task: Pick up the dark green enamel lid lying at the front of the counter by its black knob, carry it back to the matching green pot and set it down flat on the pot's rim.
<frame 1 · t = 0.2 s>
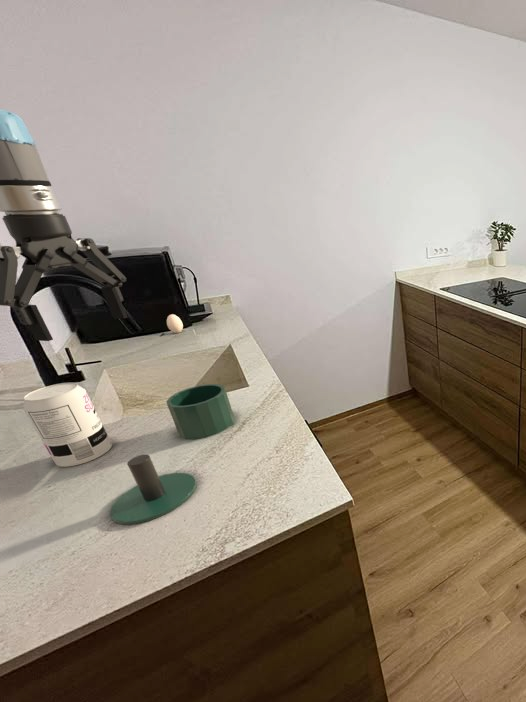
hand: (85, 328, 74), 24 cm above the counter, tool pointing down, fingers open, 13 cm apart
egg: (178, 333, 146), on the counter
lid: (156, 497, 64), point 1 cm above the counter
supplement can: (86, 457, 76), on the counter
pot: (208, 427, 85), on the counter
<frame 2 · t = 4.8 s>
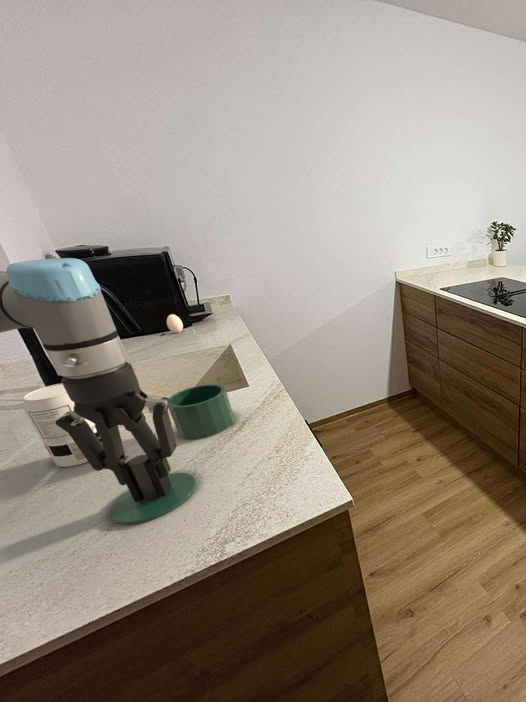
hand: (153, 493, 64), 2 cm above the counter, tool pointing down, fingers closed on lid, 3 cm apart
lid: (156, 497, 64), point 1 cm above the counter, touching gripper
everything else where it was.
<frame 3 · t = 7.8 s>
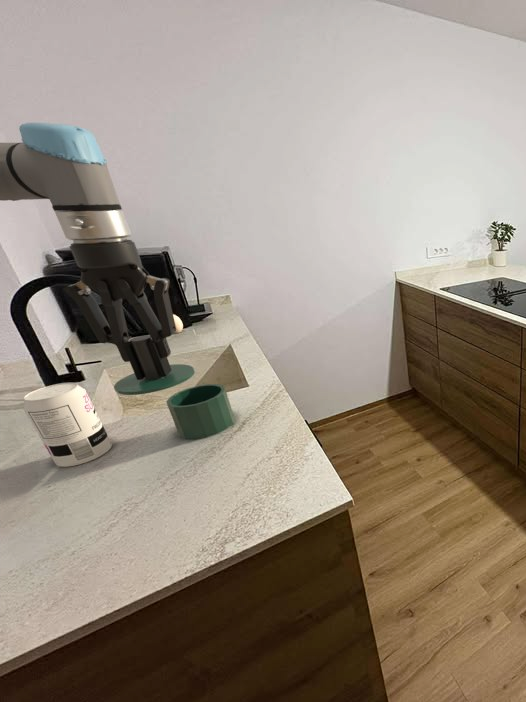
hand: (154, 374, 68), 18 cm above the counter, tool pointing down, fingers closed on lid, 3 cm apart
lid: (156, 379, 68), point 17 cm above the counter, touching gripper
everything else where it was.
when the fingers open (10 cm above the counter, at t = 11.0 s): lid stays where it is, resting on pot.
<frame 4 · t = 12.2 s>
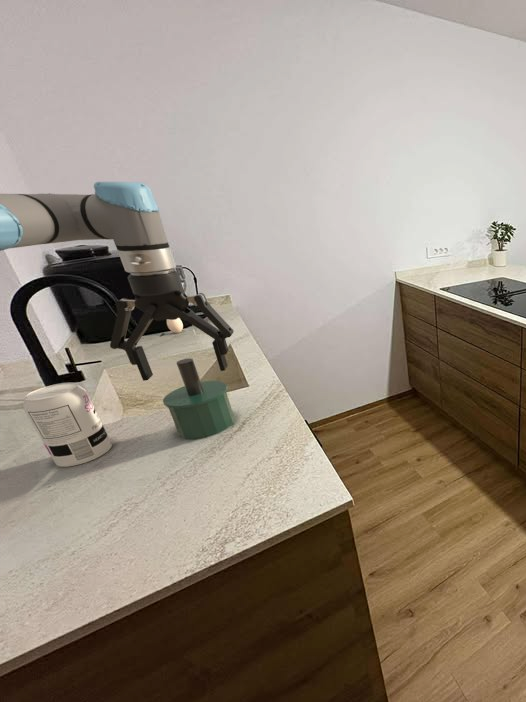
hand: (187, 373, 79), 14 cm above the counter, tool pointing down, fingers open, 13 cm apart
lid: (196, 394, 81), point 8 cm above the counter, touching pot
everything else where it was.
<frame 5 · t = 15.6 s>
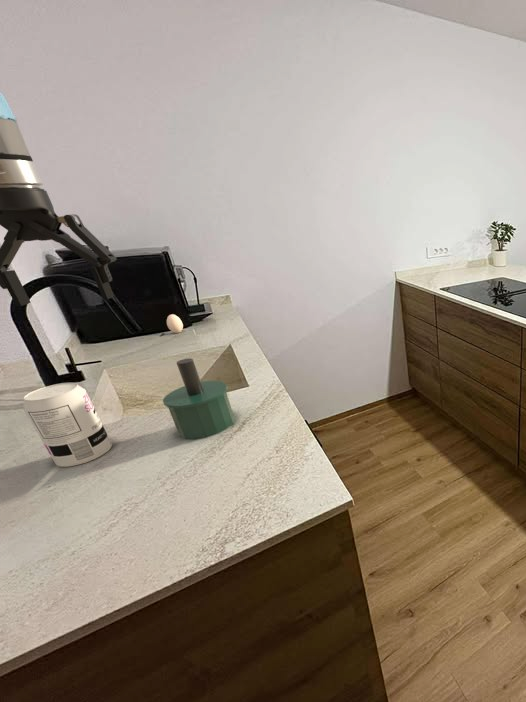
hand: (67, 301, 77), 29 cm above the counter, tool pointing down, fingers open, 13 cm apart
nothing on the counter moved.
at the end: lid 0.0 cm off-centre on the pot, point 8.5 cm above the pot's base; lid tilted 0° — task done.
